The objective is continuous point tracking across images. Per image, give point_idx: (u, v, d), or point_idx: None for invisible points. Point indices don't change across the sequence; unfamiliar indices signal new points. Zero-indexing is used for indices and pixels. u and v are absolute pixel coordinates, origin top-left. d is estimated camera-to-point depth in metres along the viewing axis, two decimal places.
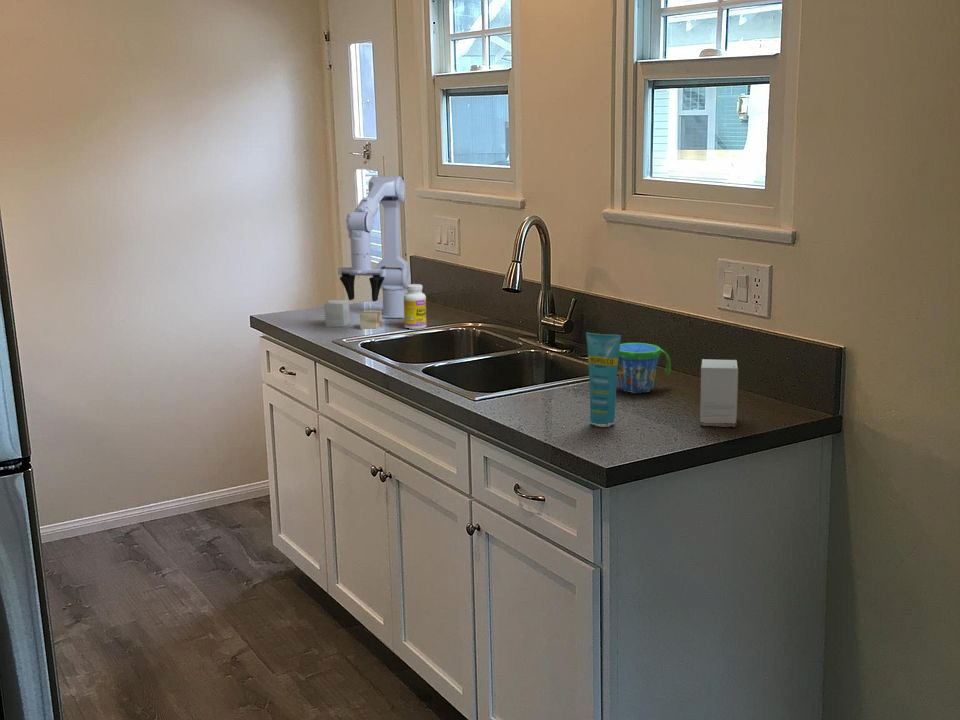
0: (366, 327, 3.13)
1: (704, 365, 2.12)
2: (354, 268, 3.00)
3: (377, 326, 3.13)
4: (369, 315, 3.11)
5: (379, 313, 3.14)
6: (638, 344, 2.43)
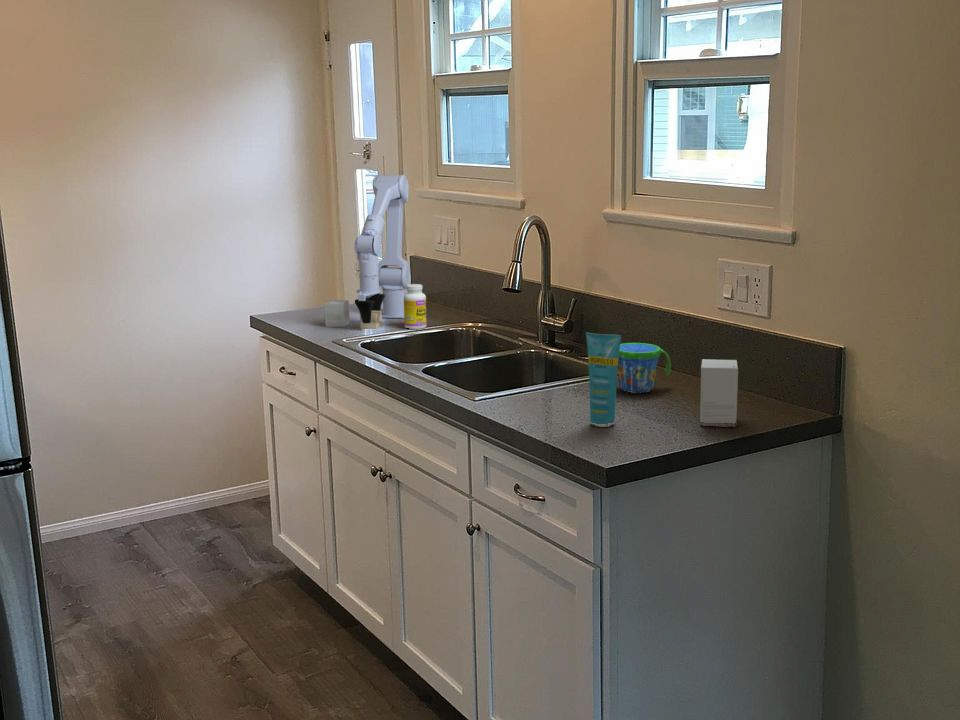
0: (366, 327, 3.13)
1: (704, 365, 2.12)
2: None
3: (377, 326, 3.13)
4: None
5: (379, 313, 3.14)
6: (638, 344, 2.43)
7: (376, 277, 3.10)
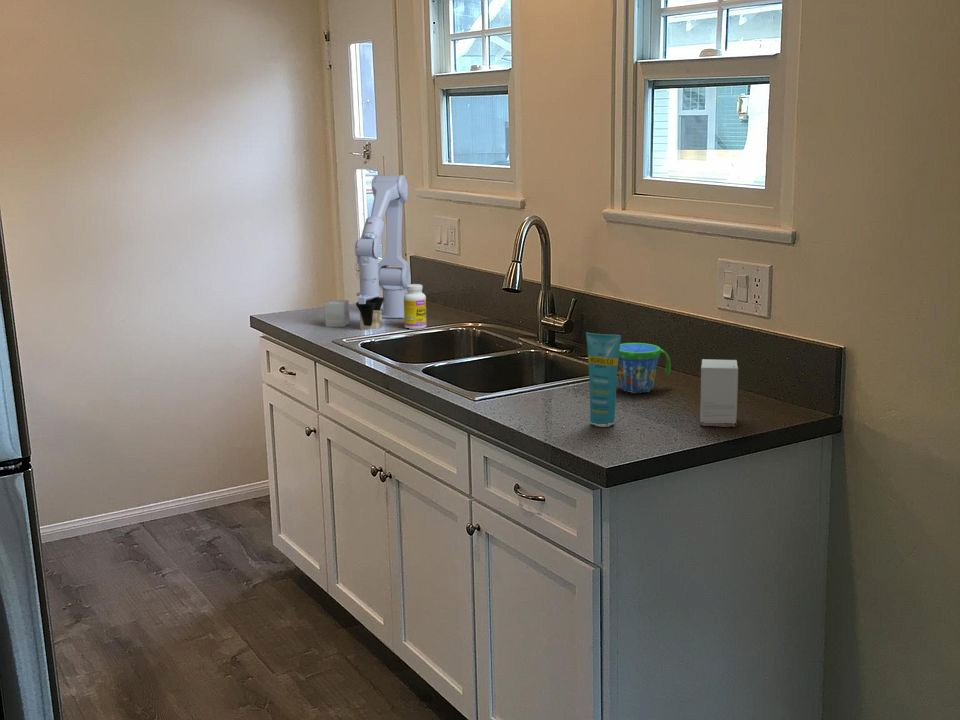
0: (366, 327, 3.13)
1: (704, 365, 2.12)
2: None
3: (377, 326, 3.13)
4: None
5: (379, 313, 3.14)
6: (638, 344, 2.43)
7: (376, 280, 3.10)
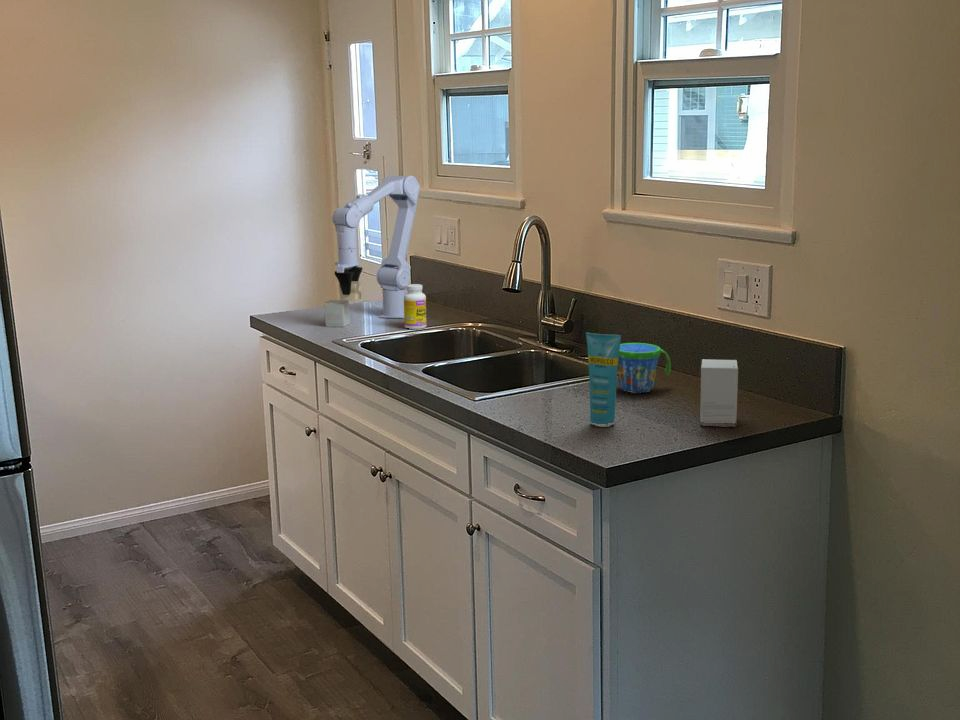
0: (345, 297, 3.14)
1: (704, 365, 2.12)
2: None
3: (356, 296, 3.14)
4: None
5: (358, 283, 3.15)
6: (638, 344, 2.43)
7: (354, 249, 3.11)
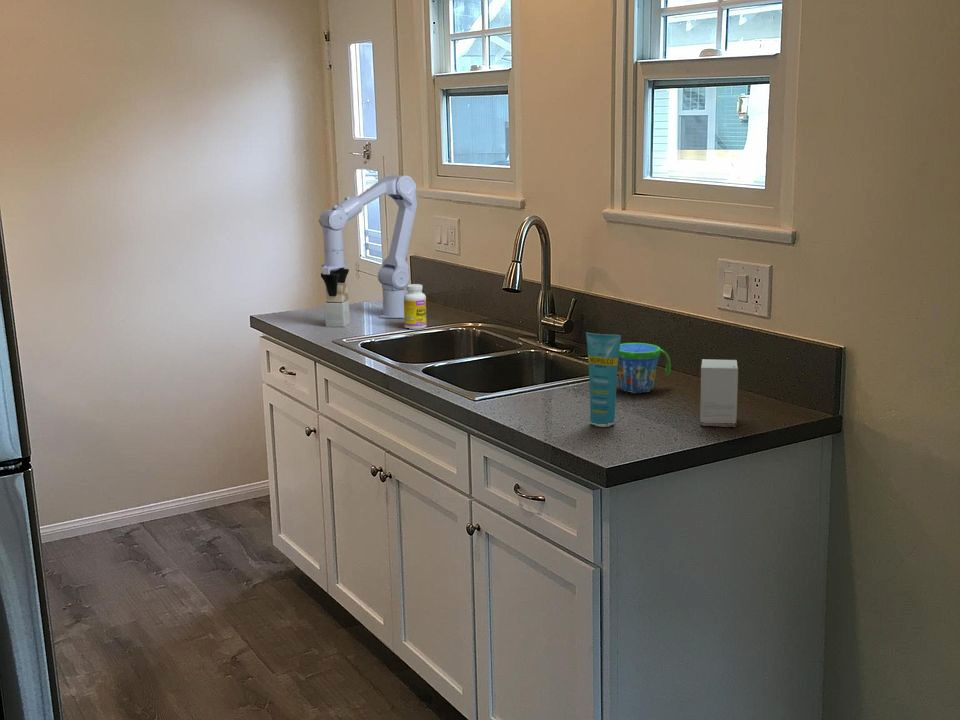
0: (332, 299, 3.16)
1: (704, 365, 2.12)
2: None
3: (343, 298, 3.17)
4: None
5: (345, 285, 3.18)
6: (638, 344, 2.43)
7: (341, 251, 3.14)
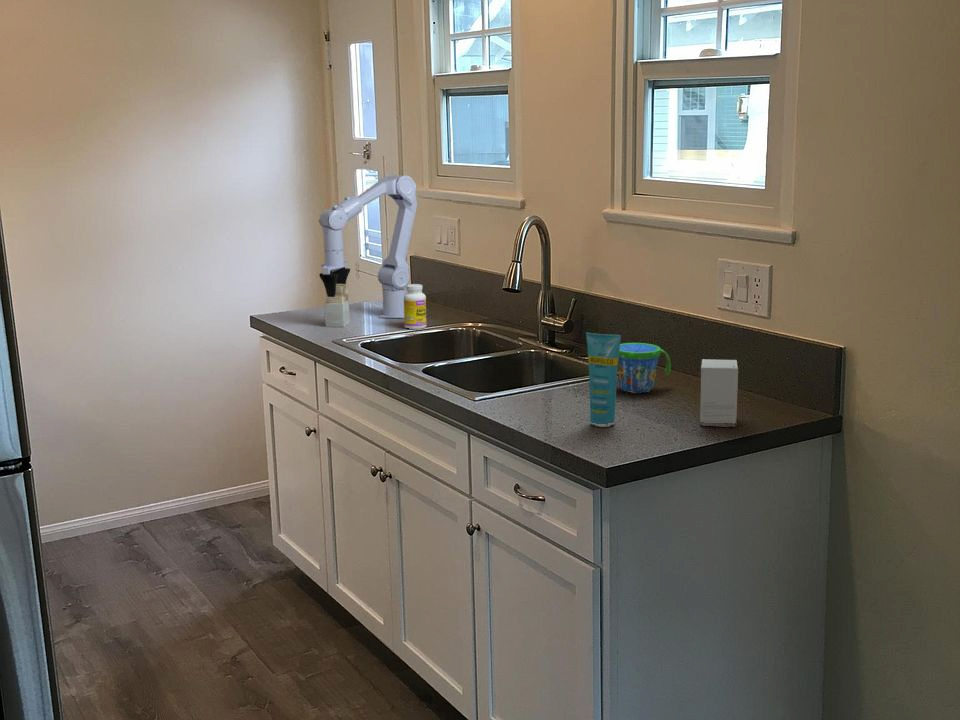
0: (332, 300, 3.17)
1: (704, 365, 2.12)
2: None
3: (343, 299, 3.17)
4: None
5: (345, 286, 3.18)
6: (638, 344, 2.43)
7: (341, 251, 3.14)
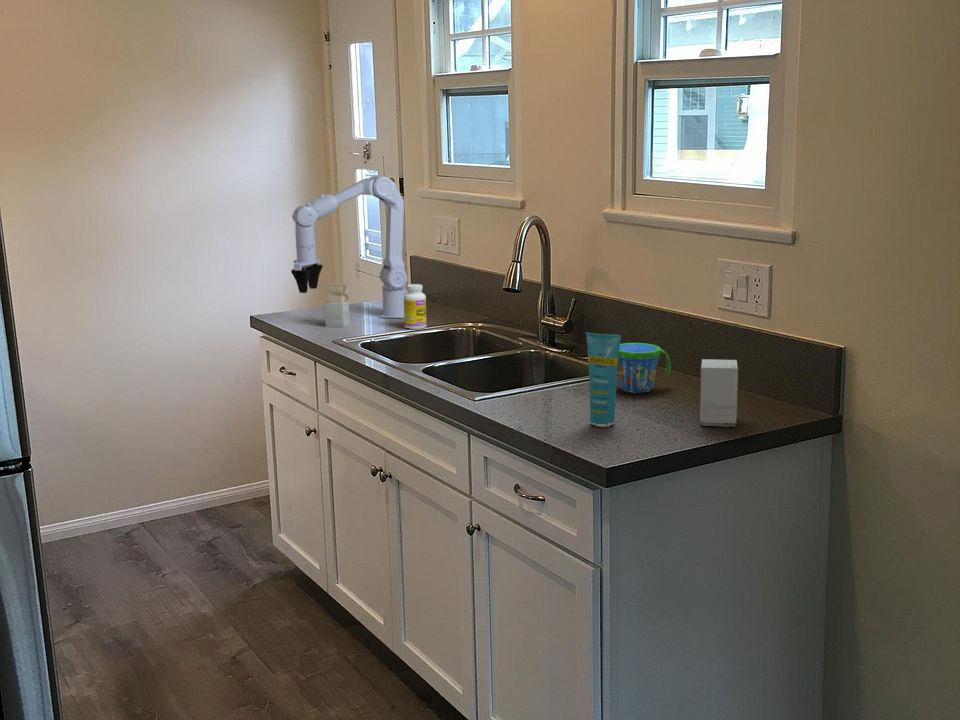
0: (332, 300, 3.17)
1: (704, 365, 2.12)
2: None
3: (343, 299, 3.17)
4: (335, 288, 3.15)
5: (345, 286, 3.18)
6: (638, 344, 2.43)
7: (312, 247, 3.16)
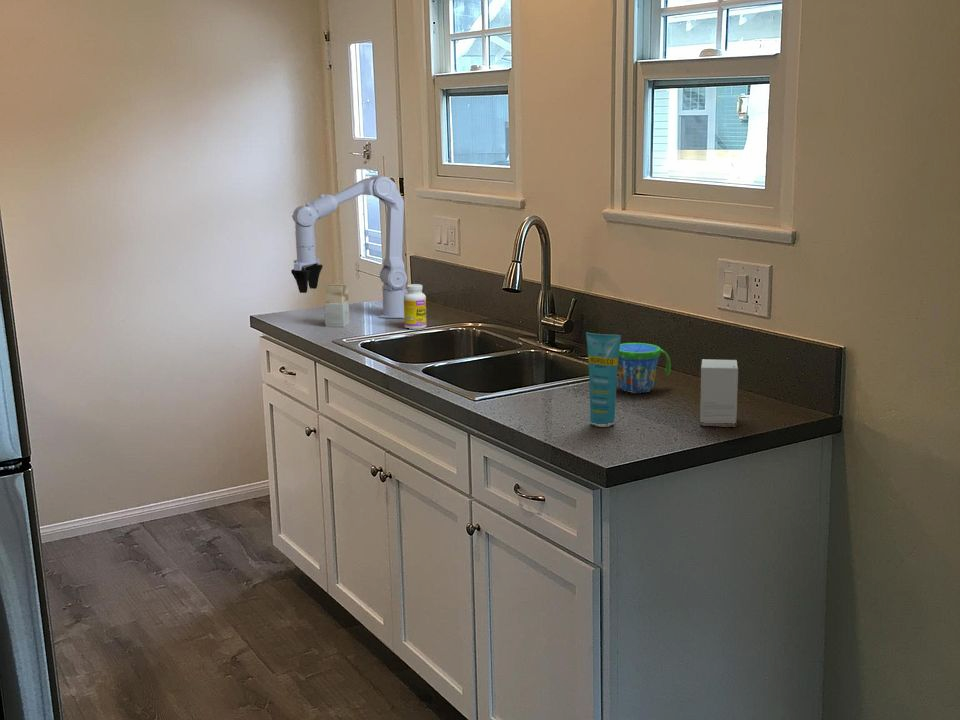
0: (332, 300, 3.17)
1: (704, 365, 2.12)
2: None
3: (343, 299, 3.17)
4: (335, 288, 3.15)
5: (345, 286, 3.18)
6: (638, 344, 2.43)
7: (312, 247, 3.16)
